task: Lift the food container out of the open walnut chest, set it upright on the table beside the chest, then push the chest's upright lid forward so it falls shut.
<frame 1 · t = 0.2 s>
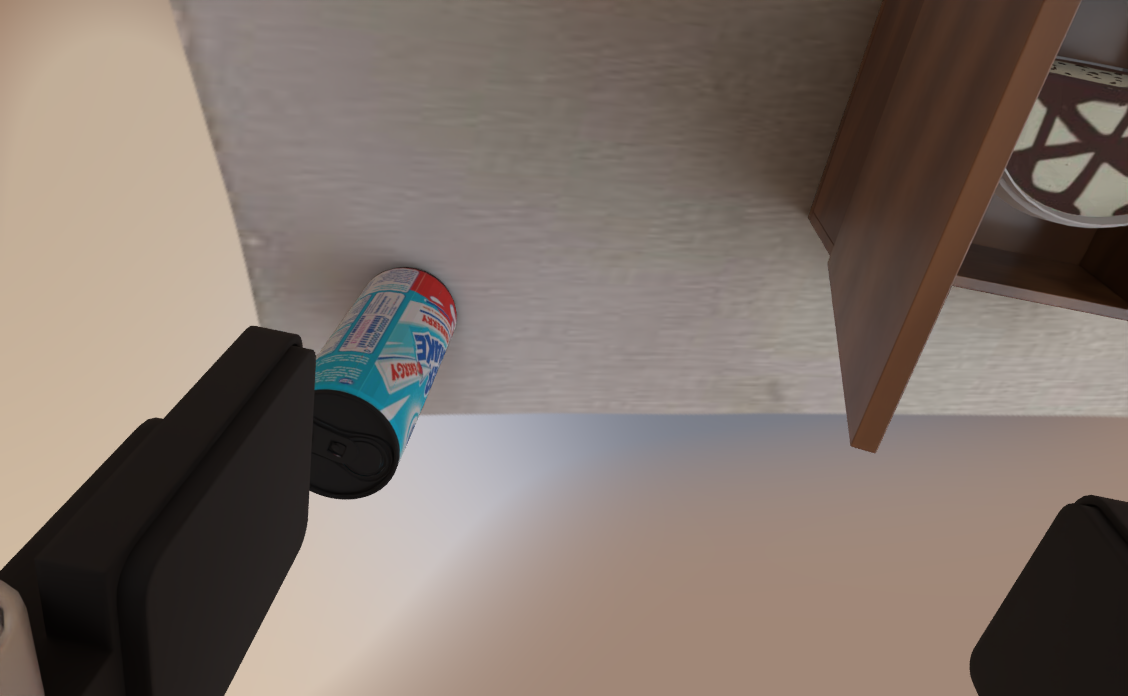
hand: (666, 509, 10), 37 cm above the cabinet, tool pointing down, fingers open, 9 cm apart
food container: (1005, 112, 42), resting on chest
chest: (1002, 110, 42), on the cabinet
beverage can: (412, 305, 50), on the cabinet
chest lid: (920, 150, 29), point 15 cm above the cabinet, hinge at 100.0°
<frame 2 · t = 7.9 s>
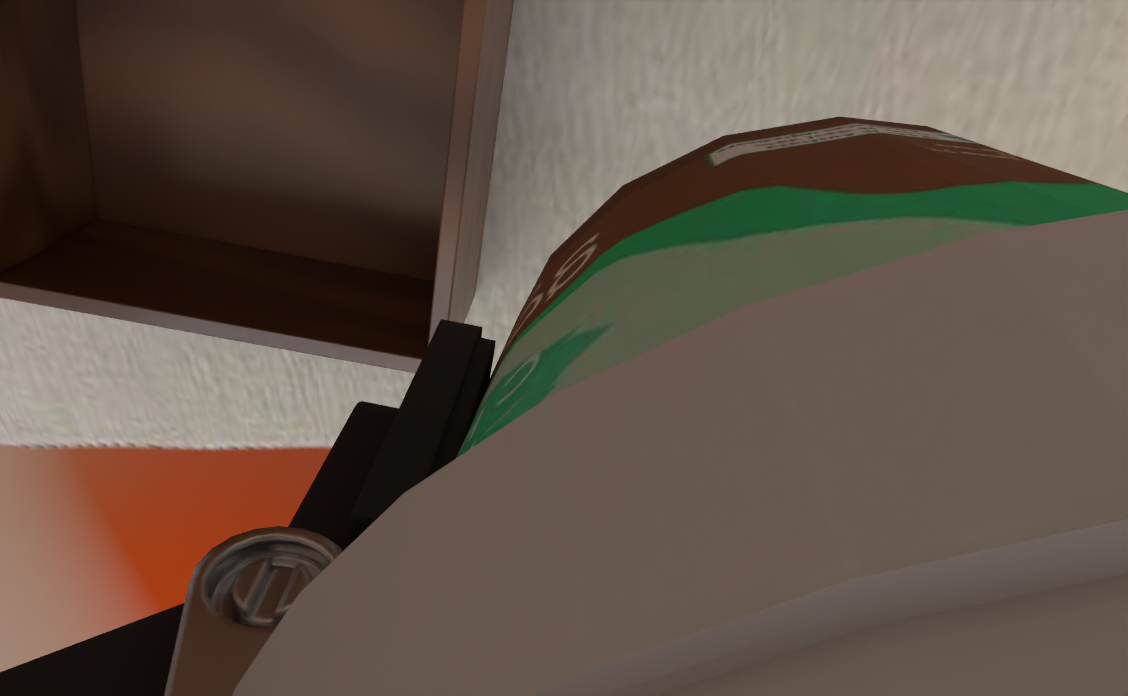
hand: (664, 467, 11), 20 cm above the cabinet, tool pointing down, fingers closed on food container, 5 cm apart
food container: (624, 373, 13), point 18 cm above the cabinet, touching gripper
chest: (287, 52, 28), on the cabinet
when the fingers open (2 cm above the cabinet, at t = 11.5 s): food container stays where it is, on the cabinet.
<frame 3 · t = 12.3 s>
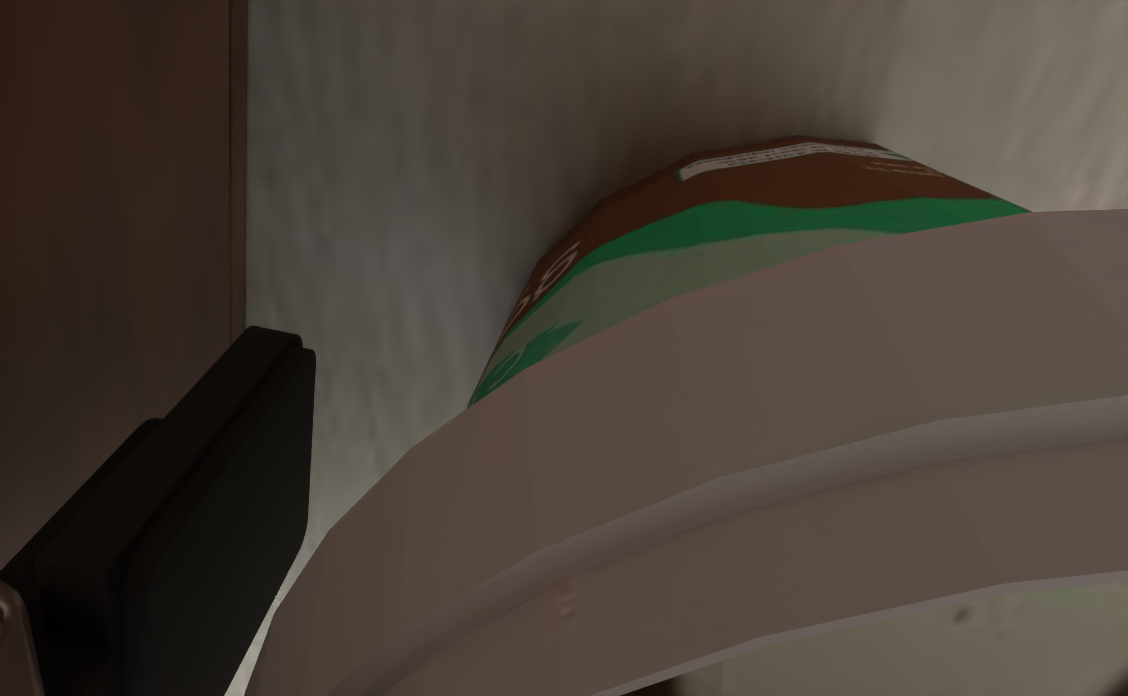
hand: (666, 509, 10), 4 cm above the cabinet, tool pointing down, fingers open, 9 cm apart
food container: (607, 369, 14), on the cabinet
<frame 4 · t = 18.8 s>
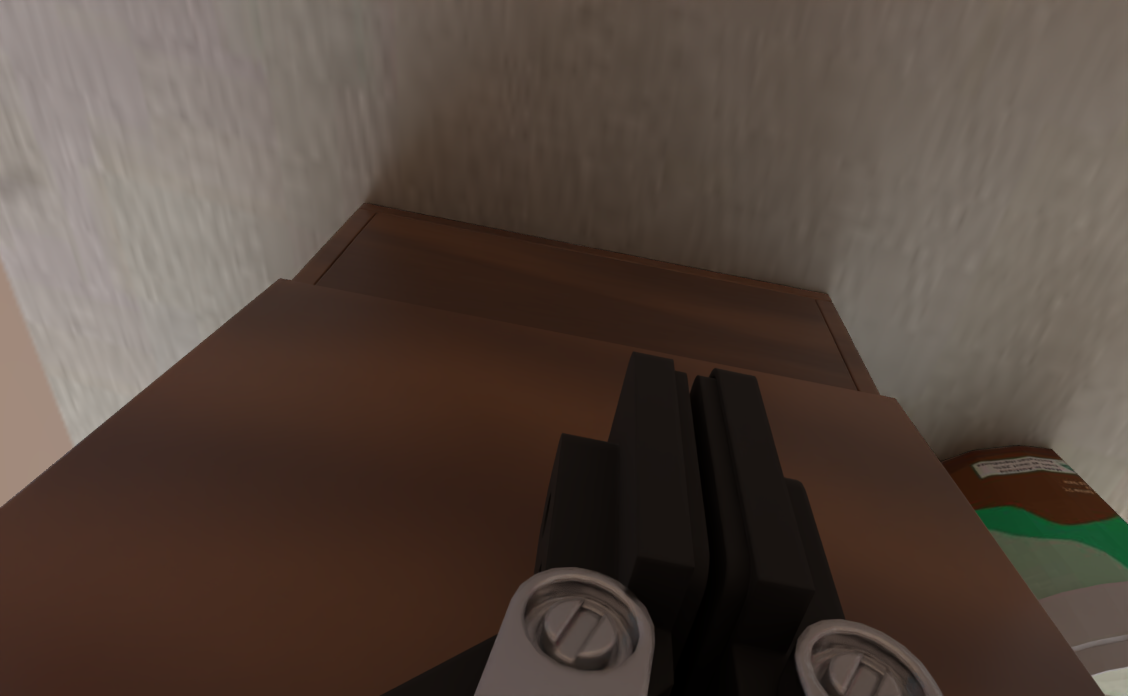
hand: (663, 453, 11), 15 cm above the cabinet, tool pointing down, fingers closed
food container: (914, 531, 31), on the cabinet
chest: (555, 446, 30), on the cabinet
chest lid: (568, 572, 12), point 15 cm above the cabinet, hinge at 95.1°, touching gripper
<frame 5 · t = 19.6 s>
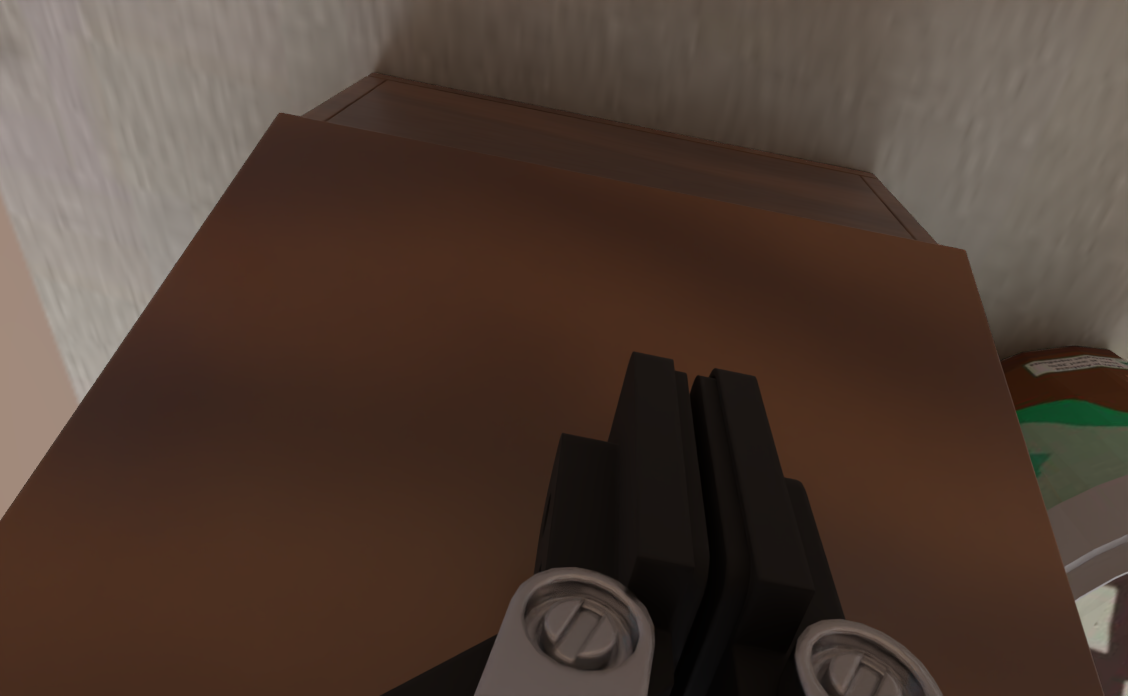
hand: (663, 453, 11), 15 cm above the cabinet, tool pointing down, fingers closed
food container: (957, 445, 29), on the cabinet
chest: (575, 351, 28), on the cabinet
chest lid: (577, 525, 12), point 15 cm above the cabinet, hinge at 70.6°, touching gripper
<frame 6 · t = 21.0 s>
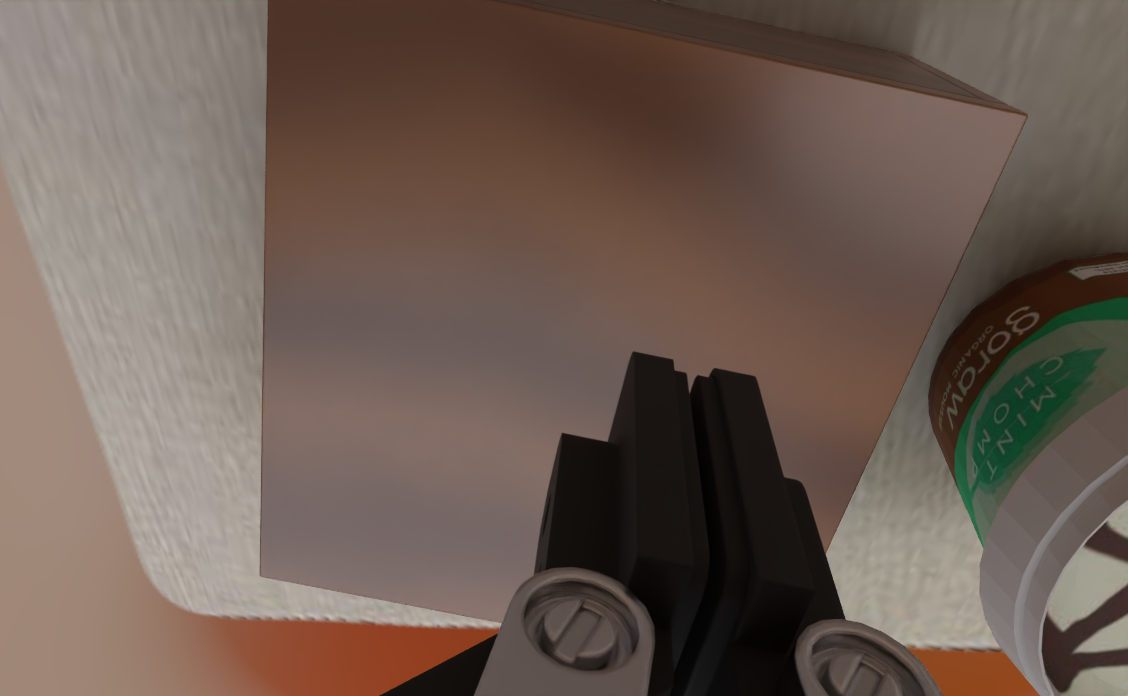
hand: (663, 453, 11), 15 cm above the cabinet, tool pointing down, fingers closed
food container: (991, 365, 27), on the cabinet
chest: (588, 260, 26), on the cabinet
chest lid: (572, 381, 20), point 7 cm above the cabinet, hinge at -0.1°
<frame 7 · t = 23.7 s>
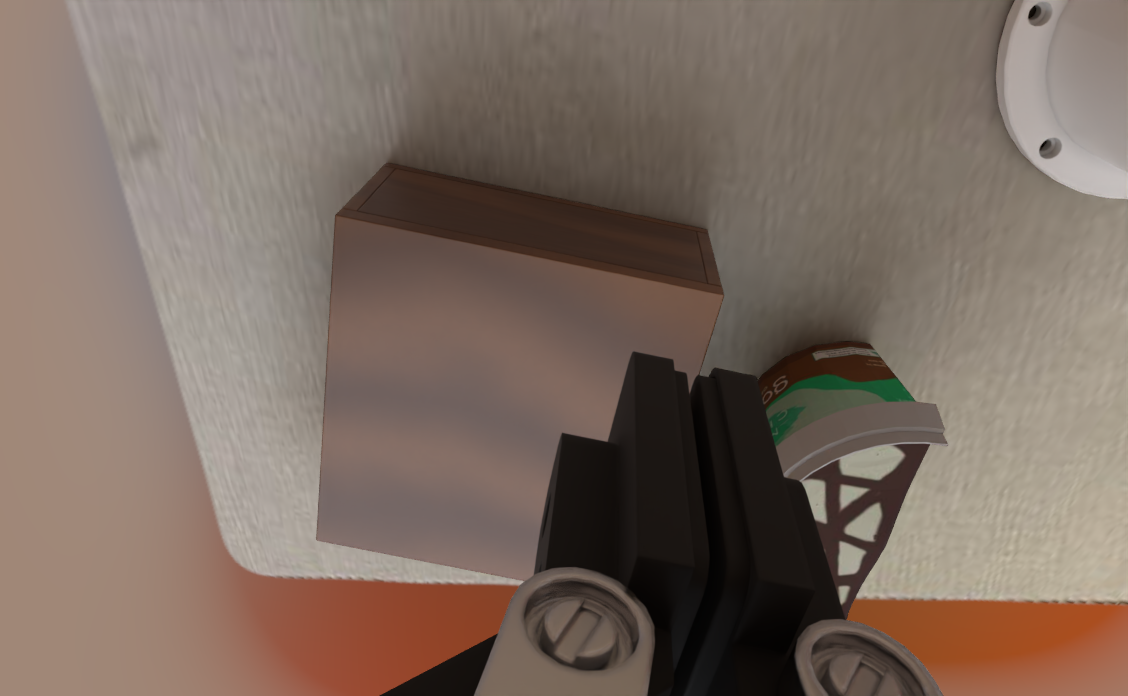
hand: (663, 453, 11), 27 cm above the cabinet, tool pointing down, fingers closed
food container: (779, 408, 42), on the cabinet
chest: (520, 343, 41), on the cabinet
chest lid: (499, 425, 35), point 7 cm above the cabinet, hinge at -0.1°
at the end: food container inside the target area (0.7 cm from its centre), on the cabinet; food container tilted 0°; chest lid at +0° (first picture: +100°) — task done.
